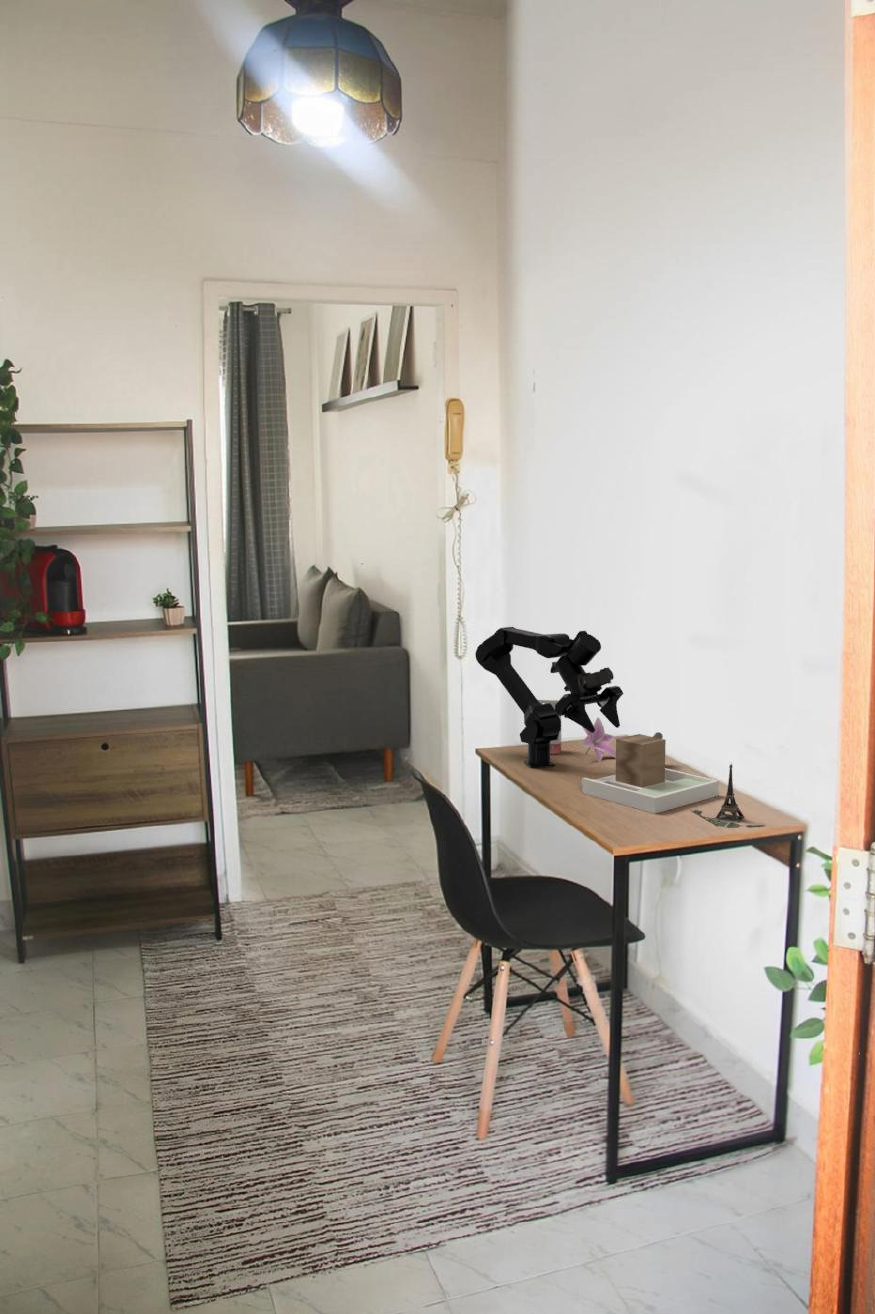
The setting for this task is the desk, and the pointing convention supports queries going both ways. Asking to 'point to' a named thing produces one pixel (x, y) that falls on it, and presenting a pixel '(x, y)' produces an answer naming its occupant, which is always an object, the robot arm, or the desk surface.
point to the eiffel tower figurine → (727, 810)
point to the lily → (599, 741)
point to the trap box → (654, 791)
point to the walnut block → (640, 760)
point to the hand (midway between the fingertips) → (606, 729)
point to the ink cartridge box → (556, 744)
